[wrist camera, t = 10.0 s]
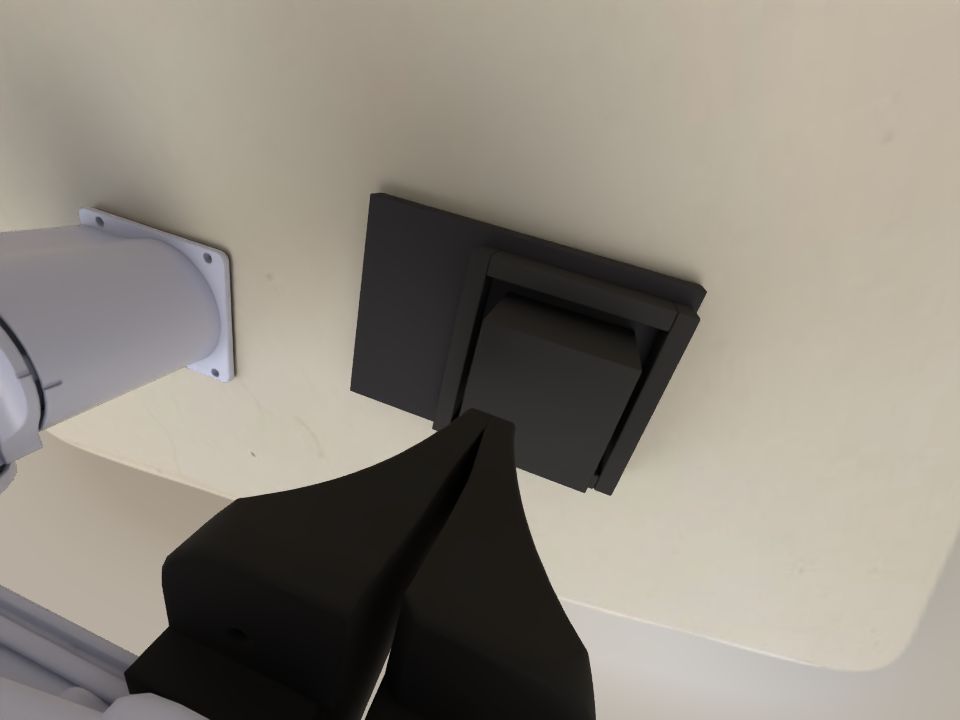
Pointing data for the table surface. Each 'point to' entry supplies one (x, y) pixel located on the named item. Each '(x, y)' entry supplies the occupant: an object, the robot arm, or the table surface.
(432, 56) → the table surface
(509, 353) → the black square block
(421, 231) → the base pad
